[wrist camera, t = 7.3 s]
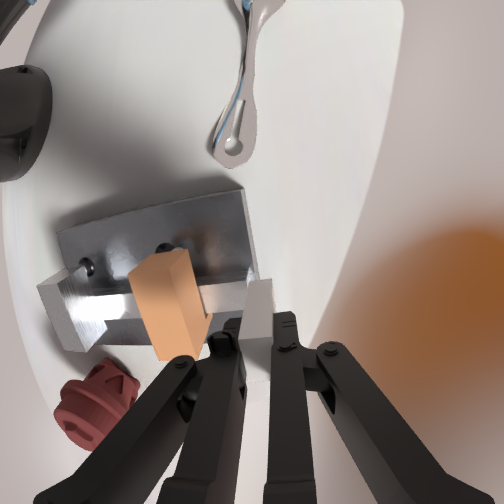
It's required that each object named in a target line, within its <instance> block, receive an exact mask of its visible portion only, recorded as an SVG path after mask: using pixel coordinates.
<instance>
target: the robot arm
mask: <svg viewBox="0 0 504 504" xmlns="http://www.w3.org/2000/svg"><path fill="white" fill-rule="evenodd" d="M36 1H37V0H0V45H1V44H2V42H3V41H4V39H5V38H6V36H7V35H8V33H9V32H10V30H11V29H12V28H13V26H14V25H15V24H16V22H17V21H18V20H19V18H20V17H21V16H22V15H23V14H24V12H25V11H26V10H27V9H28V8H29V6H30V5H34V4H35V2H36ZM51 109H52V90H51V84H50V81H49V78H48V76H47V74H46V73H45V72H44V71H43V70H42V69H40V68H36V67H33V66H29V65H20V66H15V67H10V68H6V69H1V70H0V182H7V181H13V180H17V179H19V178H21V177H22V176H23V175H24V174H26V173H27V171H28V170H29V169H30V168H31V167H32V165H33V164H34V162H35V160H36V158H37V157H38V155H39V153H40V150H41V148H42V146H43V143H44V140H45V137H46V134H47V130H48V126H49V122H50V116H51ZM207 343H208V346H209V349H210V357H208V358H205V359H202V360H198V361H195V360H194V358H193V357H192V356H189V355H180V356H177V357H175V358H173V359H172V360H171V361H170V362H169V363H168V364H167V365H166V366H165V367H164V369H163V370H162V371H161V372H160V373H159V375H158V376H157V377H156V378H155V379H154V380H153V382H152V383H151V384H150V385H149V386H148V388H147V389H146V390H145V391H144V392H143V393H142V395H141V396H140V397H139V398H138V399H137V400H136V402H135V403H134V404H133V405H132V406H131V408H130V409H129V410H128V411H127V412H126V413H125V415H124V416H123V417H122V418H121V419H120V420H119V422H118V423H117V424H116V425H115V426H114V427H113V429H112V430H111V431H110V432H109V433H108V434H107V436H106V437H105V438H104V439H103V440H102V441H101V443H100V444H99V445H98V446H97V447H96V448H95V450H94V451H93V452H92V453H91V454H90V455H89V457H88V458H87V459H86V460H85V461H84V462H83V463H82V465H81V466H80V467H79V468H78V469H77V470H76V472H75V473H74V474H73V475H72V476H70V477H68V478H66V479H65V480H63V481H61V482H59V483H57V484H56V485H54V486H52V487H50V488H48V489H46V490H44V491H42V492H41V493H39V494H38V495H36V497H35V498H34V501H33V504H144V502H145V501H146V499H147V498H148V496H149V495H150V493H151V492H152V490H153V489H154V487H155V486H156V484H157V483H158V481H159V479H160V478H161V477H162V475H163V473H164V472H165V470H166V469H167V467H168V466H169V464H170V462H171V461H172V459H173V458H174V456H175V455H176V453H177V452H178V450H179V448H180V447H181V445H182V443H183V442H184V443H183V446H182V450H181V453H180V456H179V460H178V463H177V467H176V470H175V473H174V475H173V476H172V477H169V478H166V479H165V480H164V483H163V484H162V487H161V490H160V493H159V496H158V500H157V503H156V504H234V500H235V492H236V484H237V475H238V466H239V459H240V450H241V441H242V432H243V423H244V415H245V406H246V397H247V386H246V376H247V380H248V382H263V381H270V417H269V444H268V446H269V447H268V468H267V482H266V484H265V486H264V493H263V504H317V497H316V485H315V479H314V469H313V457H312V447H311V436H310V427H309V426H310V425H309V416H308V407H307V398H306V390H307V391H317V392H318V396H319V397H320V399H321V401H322V403H323V404H324V407H325V409H326V410H327V412H328V414H329V416H330V418H331V419H332V421H333V423H334V425H335V426H336V429H337V431H338V432H339V434H340V436H341V438H342V440H343V442H344V443H345V445H346V447H347V449H348V450H349V452H350V454H351V456H352V458H353V459H354V462H355V463H356V465H357V467H358V469H359V471H360V472H361V474H362V476H363V477H364V479H365V481H366V483H367V485H368V487H369V488H370V490H371V492H372V494H373V495H374V497H375V499H376V501H377V503H378V504H495V502H494V500H493V498H492V497H491V496H490V495H488V494H486V493H484V492H482V491H480V490H478V489H476V488H474V487H472V486H469V485H467V484H466V483H464V482H462V481H460V480H458V479H456V478H454V477H452V476H451V475H449V474H447V473H446V472H445V471H444V470H443V468H442V467H441V466H440V465H439V463H438V462H437V461H436V460H435V458H434V457H433V456H432V454H431V453H430V452H429V450H428V449H427V448H426V447H425V445H424V444H423V443H422V442H421V440H420V439H419V438H418V437H417V435H416V434H415V433H414V431H413V430H412V429H411V428H410V426H409V425H408V424H407V423H406V421H405V420H404V419H403V418H402V416H401V415H400V414H399V413H398V411H397V410H396V409H395V408H394V406H393V405H392V404H391V403H390V401H389V400H388V399H387V398H386V396H385V395H384V394H383V393H382V391H381V390H380V389H379V388H378V387H377V385H376V384H375V383H374V381H373V380H372V379H371V378H370V377H369V375H368V374H367V373H366V372H365V370H364V369H363V368H362V367H361V365H360V364H359V363H358V362H357V361H356V359H355V358H354V357H353V356H352V354H351V353H350V352H349V351H348V349H347V348H346V347H345V346H344V345H343V344H342V343H339V342H332V341H330V342H325V343H323V344H321V345H320V346H318V347H317V350H316V349H308V348H305V347H303V346H302V345H301V344H300V342H299V338H298V331H297V324H296V317H295V315H294V314H293V313H292V312H291V311H288V312H280V313H276V305H275V298H274V291H273V284H272V279H263V280H255V281H249V284H248V289H247V294H246V300H245V305H244V310H243V316H242V317H238V318H229V319H228V320H227V321H226V322H225V323H224V326H223V330H222V331H217V332H214V333H212V334H211V335H209V336H208V338H207Z"/></svg>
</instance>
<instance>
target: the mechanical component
mask: <svg viewBox="0 0 504 504" xmlns="http://www.w3.org/2000/svg"><path fill="white" fill-rule="evenodd" d="M140 386H141V385H140V383H139V381H138V380H136V379H134V378H132V377H130V376H128V375H127V374H125V373H124V372H122V371H121V370H120V369H119V368H118V367H117V366H116V365H115V364H114V363H113V362H112V361H111V360H110V359H108V358H105V359H104V360H103V361H102V362H101V364H97V365H95V366H94V367H93V369H92V370H91V371H90V373H89V374H88V375H87V377H86V378H85V379H84V381H81V380H70V381H68V382H67V383H66V384H65V385H64V386H63V388H62V389H61V391H60V396H61V400H62V401H61V402H60V403H59V405H58V406H57V408H56V409H55V410H54V418H55V420H56V421H57V423H58V425H59V426H60V427H61V428H62V430H63V431H64V432H65V433H66V435H67V436H68V437H69V439H70V440H71V441H73V442H74V443H75V444H76V445H78V446H79V447H81V448H83V449H85V450H88V451H92V452H93V451H94V450H95V448H96V447H97V446H98V445H99V444H100V443H101V441H102V440H103V439H104V438H105V437H106V436H107V434H108V433H109V432H110V431H111V430H112V429H113V427H114V426H115V425H116V424H117V423H118V422H119V420H120V419H121V418H122V417H123V416H124V415H125V413H126V412H127V411H128V410H129V409H130V408H131V406H132V405H133V404H134V402H135V401H136V399H137V396H138V390H139V388H140Z"/></svg>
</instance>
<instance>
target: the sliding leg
mask: <svg viewBox="0 0 504 504" xmlns="http://www.w3.org/2000/svg"><path fill="white" fill-rule="evenodd" d="M127 275H128V278H129V282H130V285H131V288H132V291H133V294H134V297H135V300H136V303H137V305H138V308H139V311H140V314H141V317H142V319H143V322H144V325H145V327H146V330H147V332H148V335H149V338H150V340H151V343H152V345H153V347H154V350H155V352H156V355H157V357H158V359H159V361H171V360H172V359H173V358H175V357H177V356H180V355H189V356H192V357H193V358H194V360H198V358H199V355H200V352H201V349H202V346H203V344H204V341H205V338H206V335H207V332H208V330H209V329H208V328H209V325H210V322H211V320H212V317H213V314H212V313H206V314H204V311H203V307H202V303H201V300H200V296H199V292H198V288H197V284H196V280H195V277H194V273H193V268H192V264H191V260H190V256H189V252H188V249H183V248H181V247H176V248H174V249H173V250H172V251H169V252H163V253H157V254H151V255H150V256H149V257H147V258H146V259H145V260H144V261H142V262H141V263H140V264H139V265H138V266H136V267H135V268H134V269H133V270H132V271H130V272H129V273H128V274H127Z"/></svg>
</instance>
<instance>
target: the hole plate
mask: <svg viewBox="0 0 504 504" xmlns="http://www.w3.org/2000/svg"><path fill="white" fill-rule="evenodd" d="M56 234H57V238H58V241H59V245H60V249H61V252H62V255H63V259H64V262H65V265H66V268H73V267H76V266H78V265H79V264H81V263H83V262H88V263H89V264H90V266H91V272H90V273H88V274H87V276H88V279H89V282H90V285H91V288H92V289H97V288H107V287H116V286H125V285H130V282H129V278H128V275H127V274H128V273H129V272H130V271H132V270H133V269H134V268H135V267H136V266H138V265H139V264H140V263H141V262H142V261H144V260H145V259H146V258H147V257H149V256H150V255H151V254H157V253H163V252H169V251H172V250H173V249H174V248H176V247H181V248H183V249H188V252H189V256H190V260H191V264H192V268H193V273H194V277H202V276H210V275H218V274H226V273H233V272H241V271H248V272H249V277H250V281H255V280H260V277H259V271H258V265H257V259H256V253H255V248H254V242H253V236H252V230H251V224H250V218H249V213H248V207H247V201H246V195H245V189H244V188H240V189H235V190H229V191H223V192H218V193H212V194H207V195H202V196H197V197H191V198H186V199H182V200H177V201H172V202H167V203H163V204H158V205H154V206H149V207H145V208H141V209H137V210H132V211H128V212H124V213H120V214H116V215H112V216H108V217H105V218H101V219H97V220H93V221H90V222H86V223H82V224H79V225H75V226H72V227H70V228H67V229H65V230H62V231H60V232H58V233H56ZM212 314H213V317H212V320H211V322H210V325H209V328H208V329H209V330H208V332H207V335H206V338H205V341H204V343H207V338H208V336H209V335H211V334H212V333H214V332H217V331H222V330H223V326H224V323H225V322H226V321H227V320H228V319H229V318H238V317H242V316H243V310H237V311H227V312H217V313H212ZM104 322H105V324H106V327H107V330H106V331H105V332H104V333H103V334H102V335H101V336H100V338H99V339H98V340H97V341H96V344H99V345H152V343H151V340H150V338H149V335H148V332H147V330H146V327H145V325H144V322H143V319H142V318H133V319H107V320H104Z"/></svg>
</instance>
